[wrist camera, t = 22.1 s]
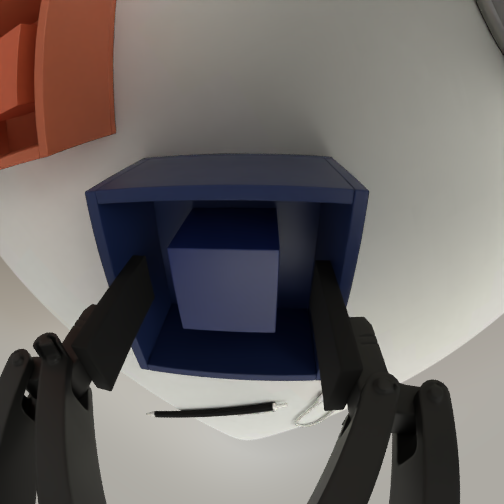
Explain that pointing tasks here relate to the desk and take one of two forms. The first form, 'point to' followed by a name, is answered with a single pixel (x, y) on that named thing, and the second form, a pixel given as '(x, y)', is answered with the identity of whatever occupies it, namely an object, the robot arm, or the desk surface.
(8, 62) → the terracotta block
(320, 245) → the navy bin
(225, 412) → the pen
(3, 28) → the terracotta bin
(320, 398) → the electronic cable
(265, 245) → the navy block
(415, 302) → the desk surface
